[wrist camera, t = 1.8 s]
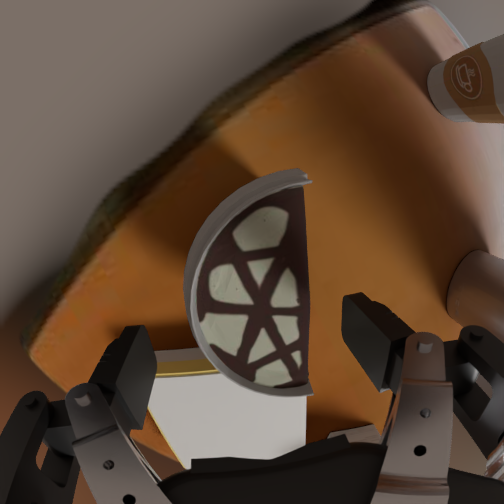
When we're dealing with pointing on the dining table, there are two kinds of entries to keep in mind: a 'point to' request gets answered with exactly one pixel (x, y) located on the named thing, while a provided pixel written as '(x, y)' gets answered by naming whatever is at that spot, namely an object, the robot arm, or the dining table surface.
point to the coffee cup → (471, 84)
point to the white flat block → (220, 412)
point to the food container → (254, 286)
